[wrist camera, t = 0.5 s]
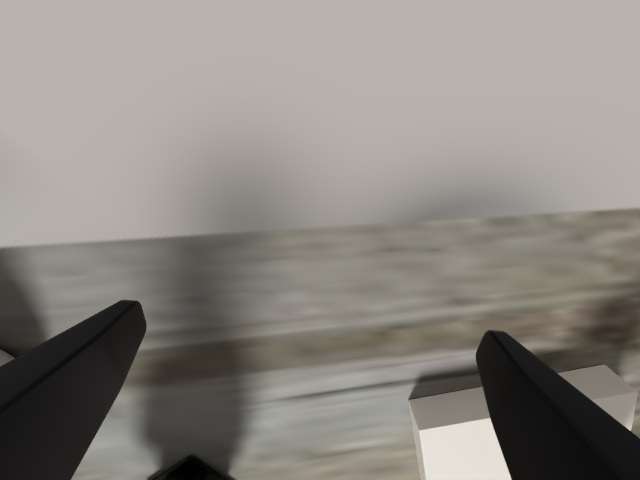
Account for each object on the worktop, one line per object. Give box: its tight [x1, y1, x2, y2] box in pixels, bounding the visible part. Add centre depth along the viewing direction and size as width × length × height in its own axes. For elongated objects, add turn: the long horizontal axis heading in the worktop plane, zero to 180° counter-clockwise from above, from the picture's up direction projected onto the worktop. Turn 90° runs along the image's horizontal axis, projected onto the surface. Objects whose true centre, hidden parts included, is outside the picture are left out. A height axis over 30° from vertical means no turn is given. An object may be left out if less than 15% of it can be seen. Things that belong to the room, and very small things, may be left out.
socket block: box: [408, 364, 638, 480], centre depth 29 cm, size 17×12×4 cm
